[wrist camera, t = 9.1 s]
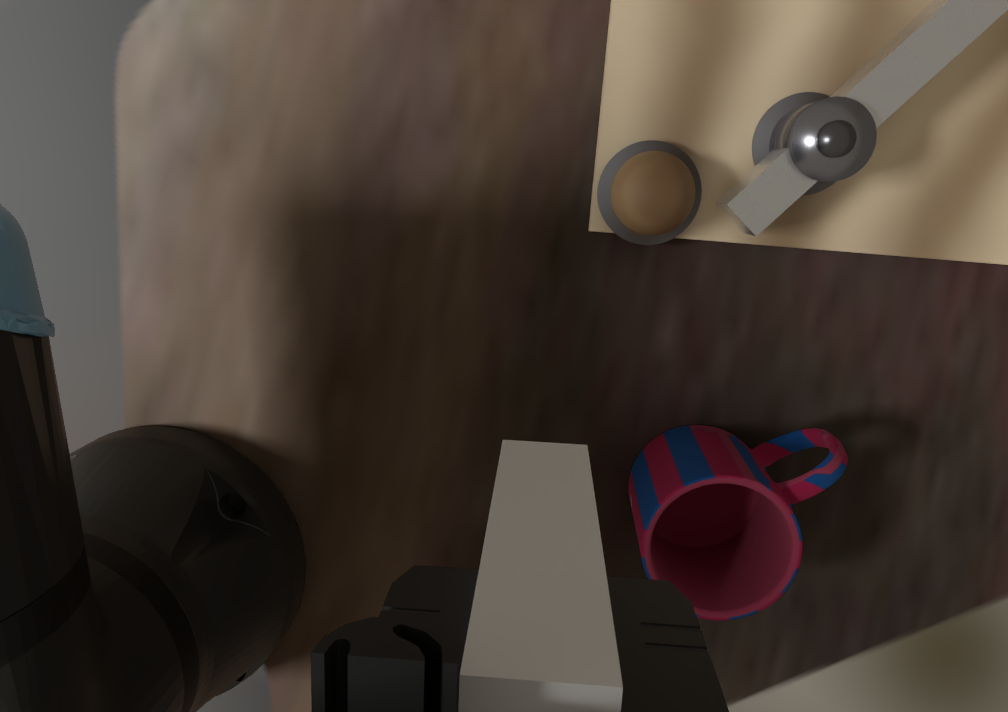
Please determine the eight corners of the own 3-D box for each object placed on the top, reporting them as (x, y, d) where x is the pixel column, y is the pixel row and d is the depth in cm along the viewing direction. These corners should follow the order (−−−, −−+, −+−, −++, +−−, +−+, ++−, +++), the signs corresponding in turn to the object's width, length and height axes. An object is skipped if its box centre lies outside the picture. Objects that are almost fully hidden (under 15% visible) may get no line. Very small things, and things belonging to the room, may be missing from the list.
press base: (587, 238, 36) (590, 245, 31) (625, -148, 32) (635, -202, 28) (1021, 273, 35) (1088, 286, 30) (1113, -124, 31) (1206, -176, 26)
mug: (604, 462, 38) (612, 520, 32) (785, 368, 36) (834, 409, 30) (666, 567, 39) (686, 645, 33) (845, 481, 38) (905, 545, 31)
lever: (702, 191, 33) (720, 192, 30) (1007, -94, 30) (1071, -134, 26) (750, 243, 34) (774, 250, 30) (1057, -33, 30) (1127, -64, 27)
